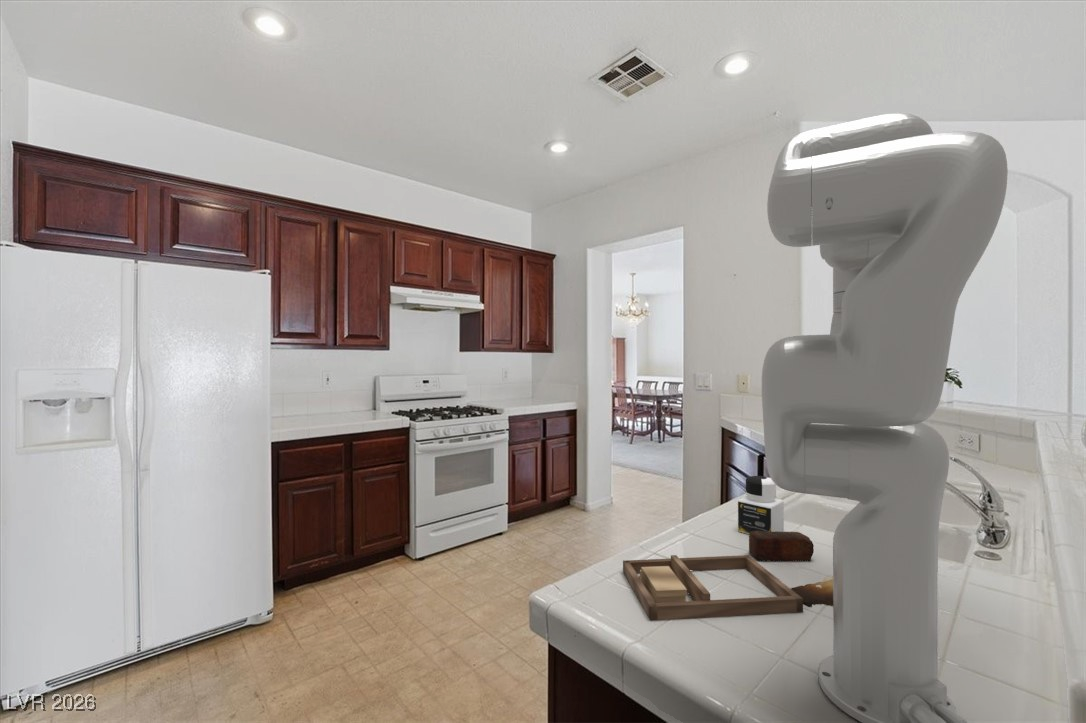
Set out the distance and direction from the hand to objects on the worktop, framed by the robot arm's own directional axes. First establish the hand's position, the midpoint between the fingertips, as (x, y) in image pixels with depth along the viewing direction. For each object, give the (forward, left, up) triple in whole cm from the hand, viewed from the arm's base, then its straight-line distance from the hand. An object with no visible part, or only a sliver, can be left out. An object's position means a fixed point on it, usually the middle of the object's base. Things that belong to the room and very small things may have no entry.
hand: (859, 404), depth 81 cm
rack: (0, +27, -30) cm, 41 cm away
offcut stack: (0, +35, -31) cm, 46 cm away
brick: (+11, +7, -31) cm, 33 cm away
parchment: (-2, +2, -31) cm, 31 cm away
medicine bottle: (+24, +4, -31) cm, 39 cm away
